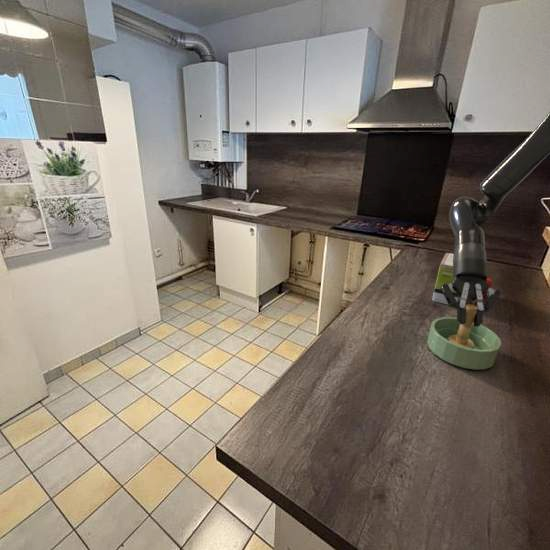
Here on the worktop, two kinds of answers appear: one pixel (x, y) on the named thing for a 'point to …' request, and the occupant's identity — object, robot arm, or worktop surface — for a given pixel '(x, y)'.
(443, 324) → the bowl
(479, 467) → the worktop surface
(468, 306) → the brown round-based rod
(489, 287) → the red bell pepper
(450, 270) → the tea box
